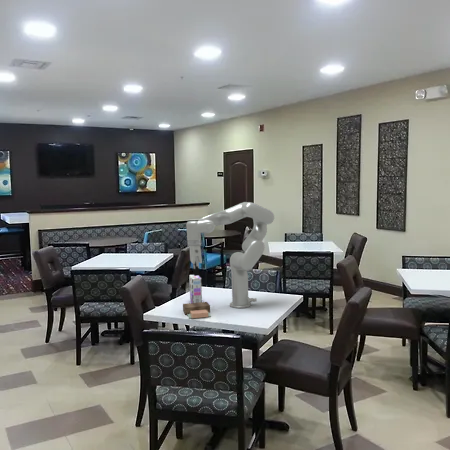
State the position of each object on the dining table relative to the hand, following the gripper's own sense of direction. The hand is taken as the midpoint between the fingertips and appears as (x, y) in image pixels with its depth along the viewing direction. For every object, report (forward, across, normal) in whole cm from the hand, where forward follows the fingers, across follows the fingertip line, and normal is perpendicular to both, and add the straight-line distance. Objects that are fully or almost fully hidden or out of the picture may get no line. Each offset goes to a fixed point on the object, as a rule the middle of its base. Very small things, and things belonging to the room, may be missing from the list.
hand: (196, 275), depth 264 cm
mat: (+21, -8, +2) cm, 23 cm away
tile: (+19, -10, +2) cm, 22 cm away
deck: (+21, 0, +1) cm, 21 cm away
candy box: (+21, +20, -3) cm, 29 cm away
